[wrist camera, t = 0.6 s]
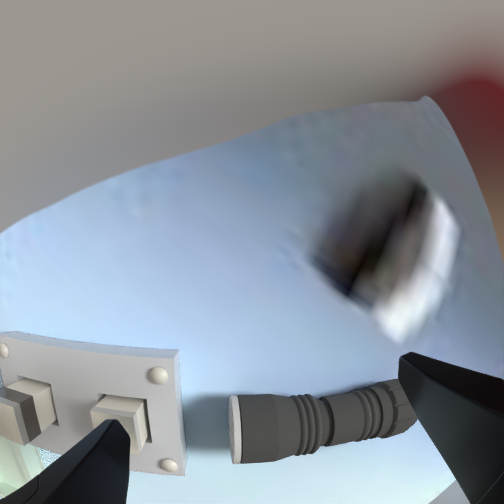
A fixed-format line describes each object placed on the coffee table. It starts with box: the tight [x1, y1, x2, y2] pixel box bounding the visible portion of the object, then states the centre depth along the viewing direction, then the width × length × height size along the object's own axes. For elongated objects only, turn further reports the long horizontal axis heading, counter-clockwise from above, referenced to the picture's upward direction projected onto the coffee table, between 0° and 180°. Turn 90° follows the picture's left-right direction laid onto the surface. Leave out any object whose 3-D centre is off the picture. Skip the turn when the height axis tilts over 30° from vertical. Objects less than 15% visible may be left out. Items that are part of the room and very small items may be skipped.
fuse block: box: [0, 331, 187, 476], centre depth 17 cm, size 10×16×3 cm, turn 91°
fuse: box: [90, 395, 150, 455], centre depth 16 cm, size 3×3×6 cm
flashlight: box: [229, 379, 418, 464], centre depth 19 cm, size 15×5×5 cm, turn 89°
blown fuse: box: [0, 378, 57, 446], centre depth 14 cm, size 3×3×8 cm
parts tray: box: [0, 436, 45, 498], centre depth 14 cm, size 12×10×3 cm
